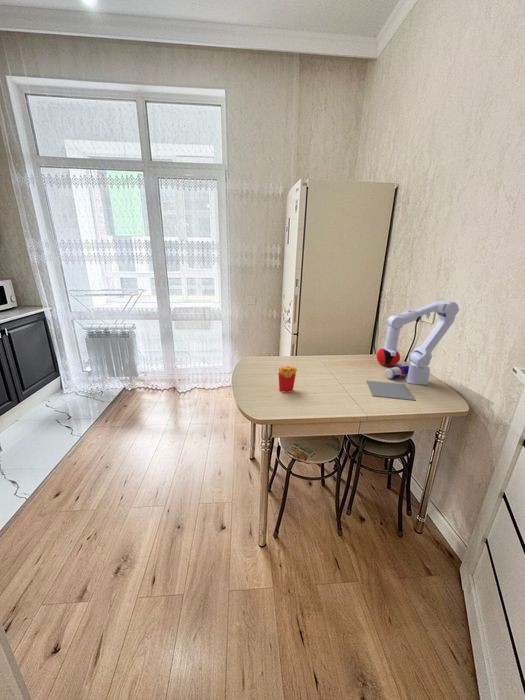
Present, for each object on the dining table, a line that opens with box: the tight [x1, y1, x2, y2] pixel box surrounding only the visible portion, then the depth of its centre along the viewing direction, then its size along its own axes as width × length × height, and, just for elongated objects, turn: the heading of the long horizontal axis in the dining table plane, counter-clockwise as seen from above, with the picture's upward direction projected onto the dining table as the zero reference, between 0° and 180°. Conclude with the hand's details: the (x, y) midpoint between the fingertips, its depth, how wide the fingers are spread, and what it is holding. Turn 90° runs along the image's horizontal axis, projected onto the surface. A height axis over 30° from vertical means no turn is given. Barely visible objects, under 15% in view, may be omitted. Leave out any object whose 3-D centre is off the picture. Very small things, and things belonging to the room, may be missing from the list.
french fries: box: [278, 365, 298, 393], centre depth 134 cm, size 8×4×12 cm, turn 92°
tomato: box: [376, 347, 401, 367], centre depth 171 cm, size 12×13×11 cm
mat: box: [366, 380, 416, 402], centre depth 140 cm, size 19×17×1 cm
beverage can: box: [384, 364, 410, 380], centre depth 155 cm, size 6×6×15 cm
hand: (387, 364), depth 147 cm, fingers closed
